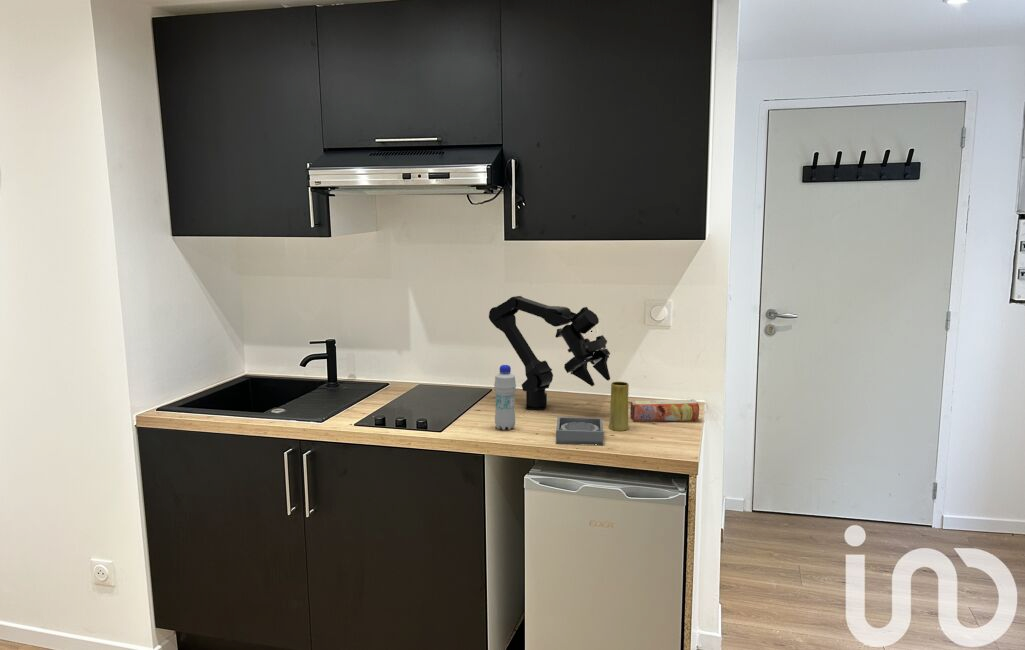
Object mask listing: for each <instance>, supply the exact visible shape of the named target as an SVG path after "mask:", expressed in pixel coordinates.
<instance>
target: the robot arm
mask: <svg viewBox="0 0 1025 650" xmlns="http://www.w3.org/2000/svg"><path fill="white" fill-rule="evenodd" d="M519 311H521V312H524V313H527V314H530V315H534V316H536V317H538V318H541V319H543V320H544V321H545V322H546V323H547V324H549V325H550V326H552V327H557V329H556V333H555V338H557V339H558V338H562V339H563V340H564V342H565V343H566V345H567V347H568V349H567V352H568V353H571V354H572V355H573V357H572V358H570V359H569V360H568V361H567V362H565V363H564V367H563V368H564V370H565V371H566V373H567V374H568V373H570V375H573V376H575V377H576V378H578V379H579V380H582V381H583V382H584V383H586V384H588V385H589V386H590V387H593V386H595V385H596V384H595V382H594V379H593V378H592V375H591V374H590V372H589V369H588V363H590V364H592V367H593V369H595V371H596V372H597V373H599V374H600V375H601V376H602V377H603V378H604V379H605V380H606V381H610V380H611V376H610V375H611V374H610V372H609V371H610V370H609V368H608V359H609V358H610V355H611V352H610V350H609V349H608V348H607V346H606V345H607V344H608V340H607V339H606V337H605V336H604V335H598V336H596V337H595V340H592V341H591V340H590V339H589V338H585V337H584V334H587V333H588V332H590V331H591V330H592V329H593V328H595V327H596V325H598V324H599V320H600V319H599V317H598V315H597V313H595V312H594V311H592V310H591V309H588V307H587V306H584V307H581V309H580V310H579V311H578V312H577V313H576V312H573V311H571V309H570V308H568V307H567V306H558V305H556V306H555V305H548V304H544V303H541V302H538V301H535V300H533V299H532V300H531V299H528V298H525V297H523V296H522V295H514V296H511V297H510V298H508V299H507V300H506V301H504V302H502V303H500V304H498V305H497V306H493V307H492V308H490V309H489V312H488V319H489V321H490V322H491V323H492V324H493V326H494V327H495V328H496V329H498V330H500V331H501V332H502V333H503V334H504V335H505V337H506V339H508V342H509V344H510V345H511V346H512V348H513V350H514V351H515V353H516V354H517V356H518V357H519V359H520V362H521V363H522V364H523V366H524V371H525V377H526V380H525V381H524V382H522V384H521V388H522V391H523V392H526V394H525V396H526V399H525V400H526V401H525V410H545V409H546V407H547V406H548V393H547V392H546V390H547V389H549V388H550V385H551V383H552V382H553V378H554V373H553V369H552V368H551V366H550V365H549V364H548V362H547V360H540V359H538V357H537V356H536V354H535V353H534V352H533V350H532V348H531V346H530V345H529V344H528V342H527V340H526V338H525V337H524V336H523V334H522V332H521V331H520V329H519V328H518V326H517V319H516V314H517V313H518V312H519ZM560 326H561V327H562V326H563V327H562V328H558V327H560Z"/></svg>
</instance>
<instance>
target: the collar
mask: <svg viewBox="0 0 1025 650" xmlns="http://www.w3.org/2000/svg"><path fill="white" fill-rule="evenodd" d="M573 429H584V430H589V431H598V426H596V425H594V424H592V423H587V422H570V423H565V424H563V425H561V430H573Z"/></svg>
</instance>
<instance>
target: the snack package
mask: <svg viewBox="0 0 1025 650" xmlns="http://www.w3.org/2000/svg"><path fill="white" fill-rule="evenodd" d="M699 416H700V405H699V402H698V401H697V400H696V399H670V400H669V399H665V400H664V399H662V400H660V399H659V400H632V401H631V402H630V418H631V420H632V421H633V422H697V421H698V419H699Z"/></svg>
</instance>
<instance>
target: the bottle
mask: <svg viewBox="0 0 1025 650" xmlns="http://www.w3.org/2000/svg"><path fill="white" fill-rule="evenodd" d="M511 369H512V368H511V366H510V365H508V364H502V365H500V366H499V373H497V374H495V379H494V384H493V386H494V392H495V411H494V412H495V414H494V424H495V426H496V428H497V429H498V430H502V431H505V430H506V428H507V430H508V431H509V430H510V431H511V430H512V429H514V428H515V425H516V410H515V409H516V407H515V406H516V405H515V404H516V402H515V396H516V395H515V394H516V393H515V392H516V390H517V389H516V387H517V384H516V375H515V374H514V373H511V371H512V370H511ZM511 428H512V429H511Z"/></svg>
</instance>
